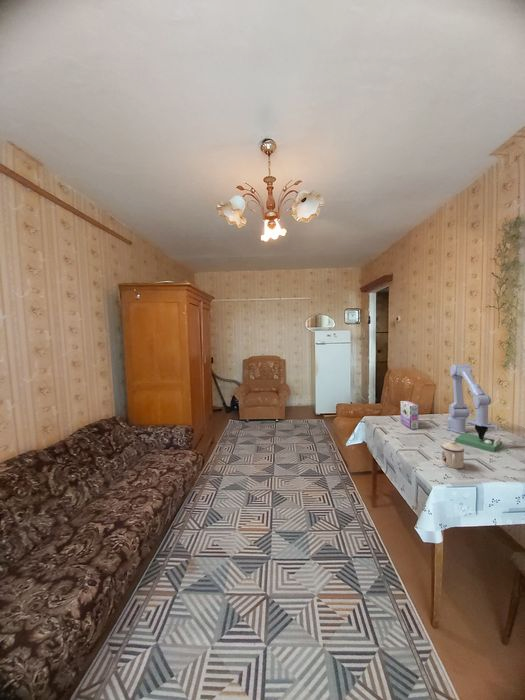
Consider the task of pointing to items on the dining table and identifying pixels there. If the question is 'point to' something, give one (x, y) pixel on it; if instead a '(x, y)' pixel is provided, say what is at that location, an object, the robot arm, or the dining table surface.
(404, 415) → the candy box
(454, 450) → the teacup with lid
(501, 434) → the dining table surface
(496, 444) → the green
